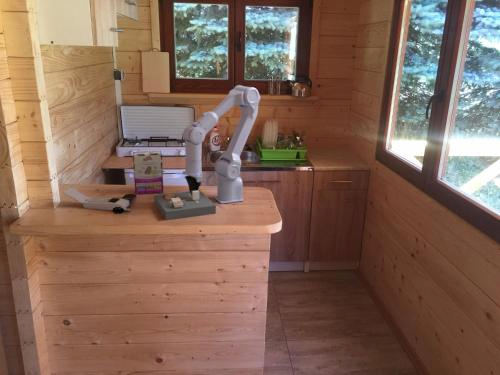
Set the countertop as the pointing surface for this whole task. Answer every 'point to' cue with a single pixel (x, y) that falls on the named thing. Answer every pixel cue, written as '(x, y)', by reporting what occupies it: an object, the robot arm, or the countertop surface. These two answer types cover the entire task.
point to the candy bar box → (148, 172)
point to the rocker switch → (177, 202)
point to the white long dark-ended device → (97, 201)
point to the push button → (169, 196)
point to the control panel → (184, 206)
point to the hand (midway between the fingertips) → (193, 195)
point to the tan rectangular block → (195, 195)
